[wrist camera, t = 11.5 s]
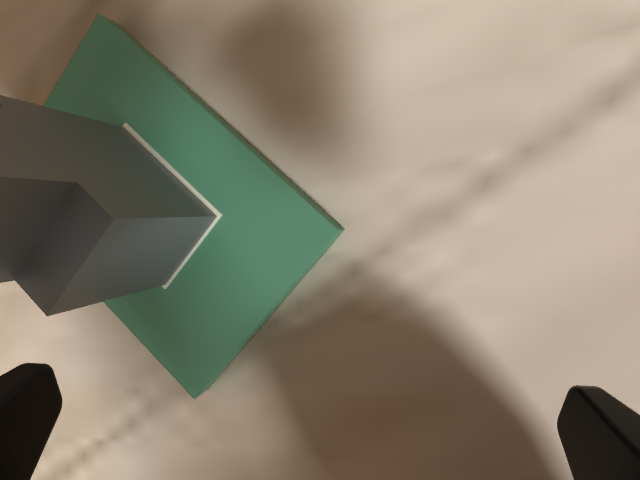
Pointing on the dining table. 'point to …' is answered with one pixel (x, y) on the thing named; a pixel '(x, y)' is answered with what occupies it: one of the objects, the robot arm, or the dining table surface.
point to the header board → (215, 192)
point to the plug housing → (87, 209)
